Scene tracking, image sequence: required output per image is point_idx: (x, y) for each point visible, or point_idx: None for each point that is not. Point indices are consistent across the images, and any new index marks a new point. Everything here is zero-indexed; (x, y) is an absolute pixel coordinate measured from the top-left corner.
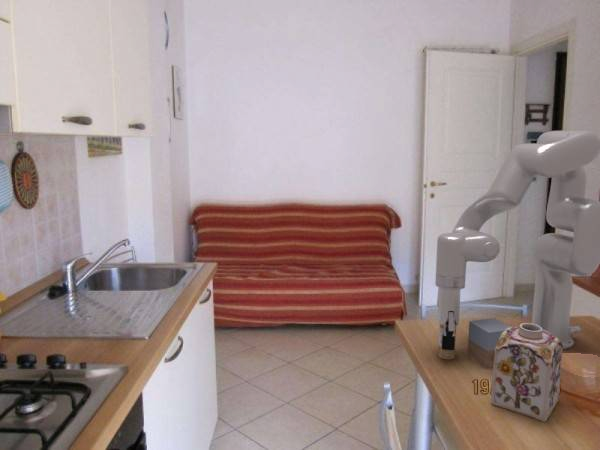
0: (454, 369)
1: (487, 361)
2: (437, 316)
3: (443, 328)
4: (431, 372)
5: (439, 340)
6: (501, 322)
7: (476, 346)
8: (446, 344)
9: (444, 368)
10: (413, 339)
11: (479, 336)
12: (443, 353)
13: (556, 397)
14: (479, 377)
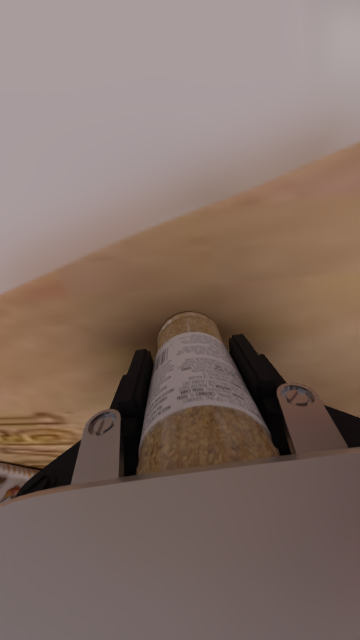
0: (95, 368)
1: None
2: (203, 528)
3: (144, 441)
4: (28, 299)
5: (174, 348)
6: None
7: None
8: (120, 387)
9: (86, 339)
10: (349, 179)
11: None
12: (159, 341)
13: None
14: (78, 427)
